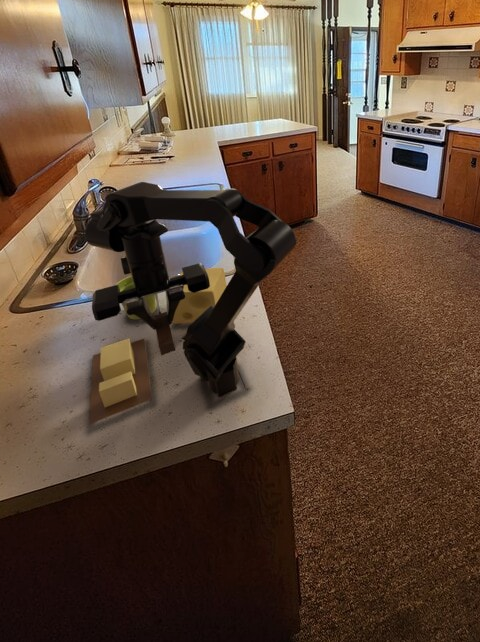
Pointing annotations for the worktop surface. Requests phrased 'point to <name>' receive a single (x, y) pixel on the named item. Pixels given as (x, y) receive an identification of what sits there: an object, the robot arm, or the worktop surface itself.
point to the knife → (163, 331)
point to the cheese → (200, 297)
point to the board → (139, 378)
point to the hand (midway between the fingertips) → (162, 325)
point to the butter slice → (117, 389)
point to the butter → (117, 359)
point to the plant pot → (128, 284)
